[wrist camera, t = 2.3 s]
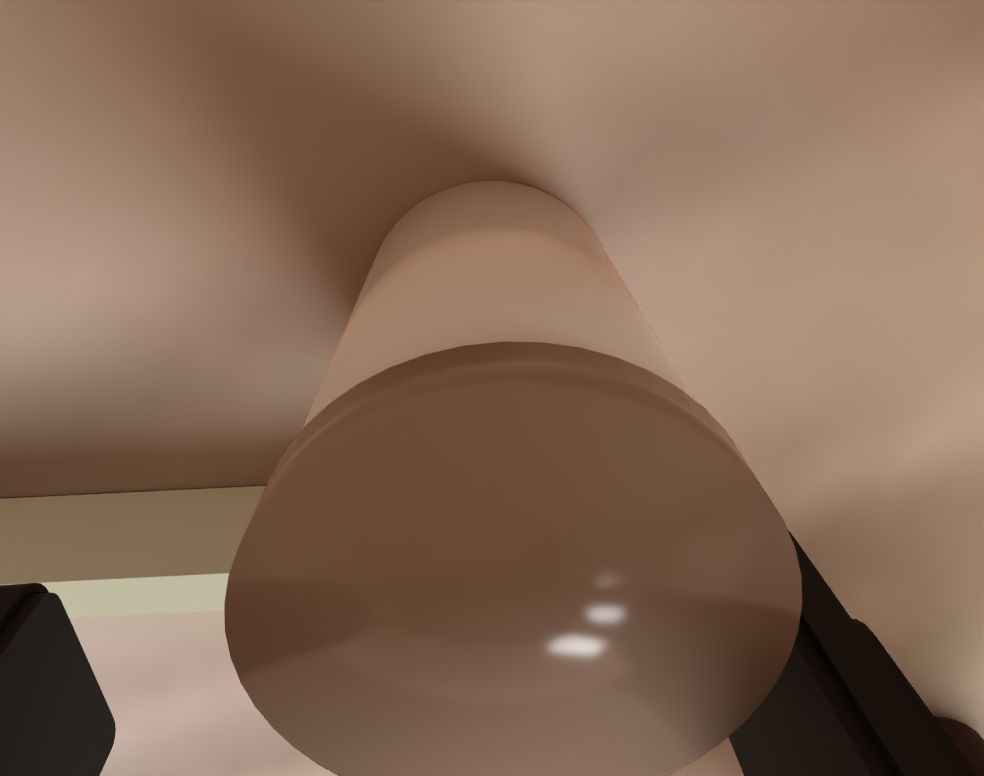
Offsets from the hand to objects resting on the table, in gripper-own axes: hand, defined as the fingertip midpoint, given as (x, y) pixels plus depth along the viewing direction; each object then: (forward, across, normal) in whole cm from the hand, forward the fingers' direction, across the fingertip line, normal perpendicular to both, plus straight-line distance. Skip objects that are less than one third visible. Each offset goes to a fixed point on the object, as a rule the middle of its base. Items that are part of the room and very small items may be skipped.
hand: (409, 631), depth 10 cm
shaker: (+6, -2, -2) cm, 7 cm away
